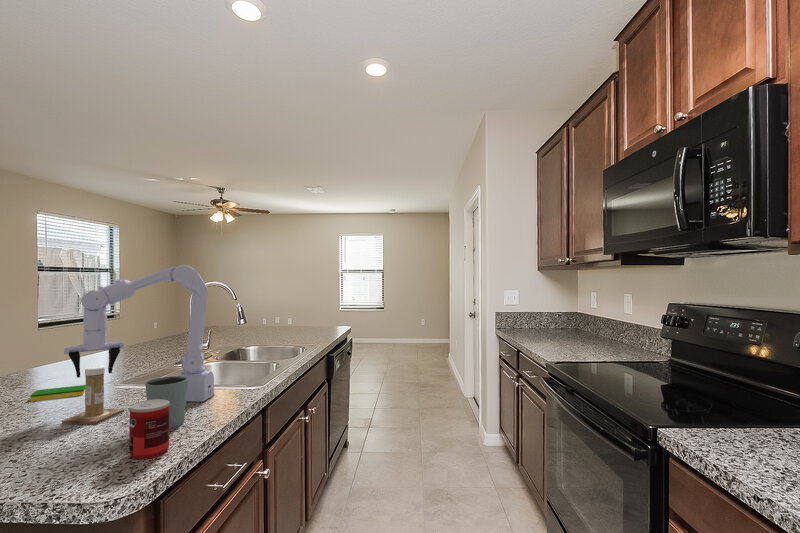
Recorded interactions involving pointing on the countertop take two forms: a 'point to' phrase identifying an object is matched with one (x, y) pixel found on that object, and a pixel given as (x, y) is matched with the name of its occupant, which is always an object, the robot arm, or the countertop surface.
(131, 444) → the canned food
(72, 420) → the spice coaster
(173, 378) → the grey-green tapered cup
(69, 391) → the dish sponge
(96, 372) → the spice jar
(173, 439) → the countertop surface
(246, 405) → the countertop surface
